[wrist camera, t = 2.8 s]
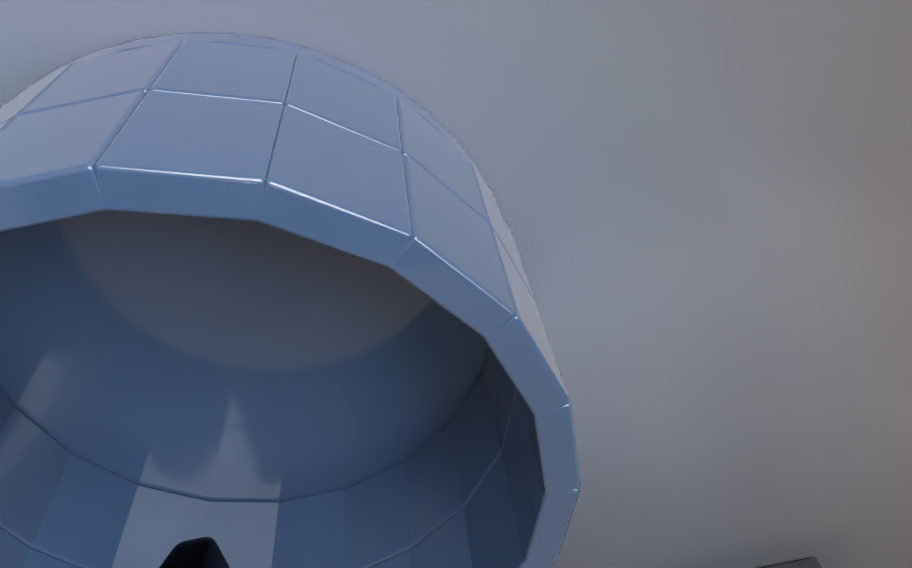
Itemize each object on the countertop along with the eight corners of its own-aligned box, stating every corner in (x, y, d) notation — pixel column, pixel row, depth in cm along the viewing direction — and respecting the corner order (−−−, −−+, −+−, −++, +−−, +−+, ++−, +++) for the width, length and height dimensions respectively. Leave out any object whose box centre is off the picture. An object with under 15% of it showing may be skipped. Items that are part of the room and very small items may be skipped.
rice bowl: (468, -30, 11) (533, 74, 7) (540, 443, 17) (601, 658, 13) (-190, 105, 11) (-515, 288, 7) (99, 532, 17) (12, 777, 13)
